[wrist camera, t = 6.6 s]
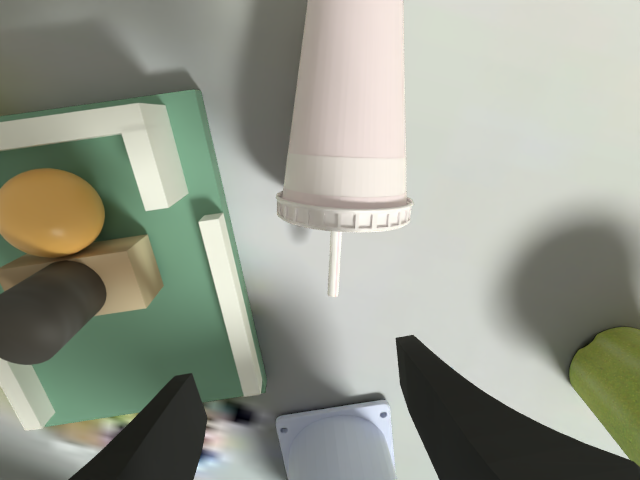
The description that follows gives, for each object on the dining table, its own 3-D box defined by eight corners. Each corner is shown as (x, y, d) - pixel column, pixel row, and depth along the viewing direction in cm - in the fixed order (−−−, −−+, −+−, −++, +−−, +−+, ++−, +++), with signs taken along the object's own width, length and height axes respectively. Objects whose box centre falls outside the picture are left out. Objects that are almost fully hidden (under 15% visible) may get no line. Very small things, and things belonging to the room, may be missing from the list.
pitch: (266, 379, 24) (261, 432, 20) (57, 411, 23) (9, 472, 19) (200, 91, 18) (173, 83, 14) (-83, 130, 17) (-195, 134, 13)
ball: (72, 250, 14) (60, 150, 14) (-30, 264, 14) (-42, 165, 14) (126, 251, 18) (116, 173, 18) (47, 262, 18) (38, 185, 18)
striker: (163, 285, 19) (111, 353, 14) (54, 302, 19) (-43, 376, 14) (147, 234, 18) (84, 284, 13) (31, 251, 18) (-83, 309, 13)
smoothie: (255, -10, 16) (258, 285, 19) (322, -86, 10) (308, 345, 14) (375, 18, 18) (357, 269, 22) (477, -30, 13) (430, 315, 17)
